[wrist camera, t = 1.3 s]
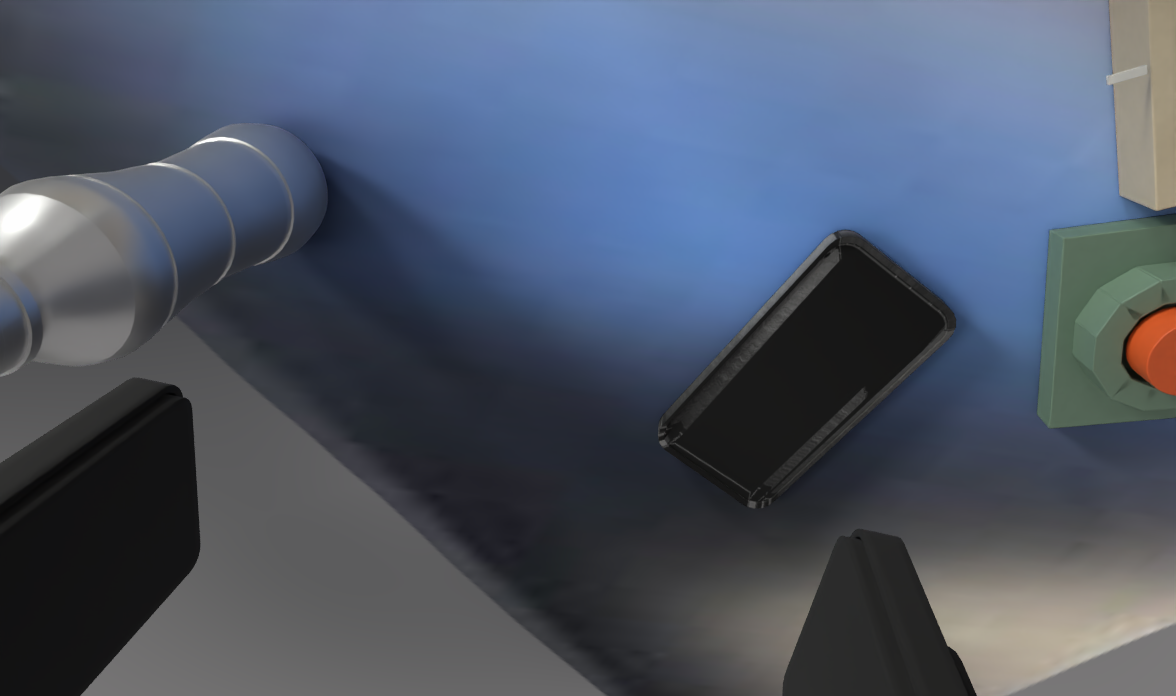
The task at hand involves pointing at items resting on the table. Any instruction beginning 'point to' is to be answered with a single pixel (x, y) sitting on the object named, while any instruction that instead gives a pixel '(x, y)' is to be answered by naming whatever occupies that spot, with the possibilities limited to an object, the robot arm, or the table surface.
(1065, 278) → the button box
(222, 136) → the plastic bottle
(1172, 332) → the button
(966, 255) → the table surface
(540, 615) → the table surface
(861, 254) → the phone
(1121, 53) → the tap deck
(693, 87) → the table surface
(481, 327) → the table surface
